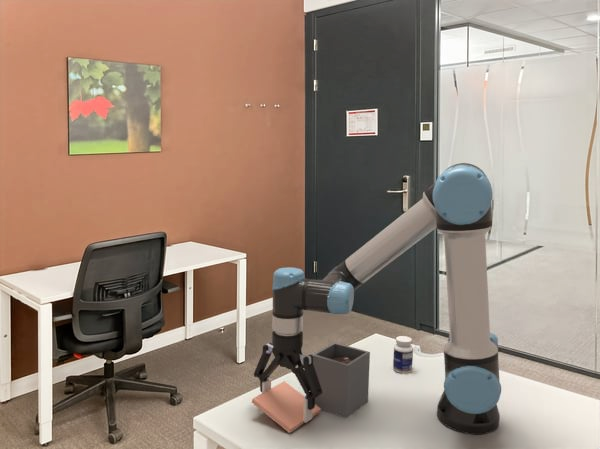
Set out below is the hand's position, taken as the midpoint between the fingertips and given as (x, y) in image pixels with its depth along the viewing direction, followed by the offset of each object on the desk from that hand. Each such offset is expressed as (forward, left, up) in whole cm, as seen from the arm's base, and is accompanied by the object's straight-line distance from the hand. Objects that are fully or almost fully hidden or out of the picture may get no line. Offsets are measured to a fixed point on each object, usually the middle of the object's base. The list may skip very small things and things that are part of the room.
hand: (286, 412), depth 142 cm
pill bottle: (-11, -44, -1) cm, 45 cm away
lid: (0, 0, +1) cm, 1 cm away
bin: (-7, -14, -1) cm, 16 cm away
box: (-7, -14, -1) cm, 16 cm away
